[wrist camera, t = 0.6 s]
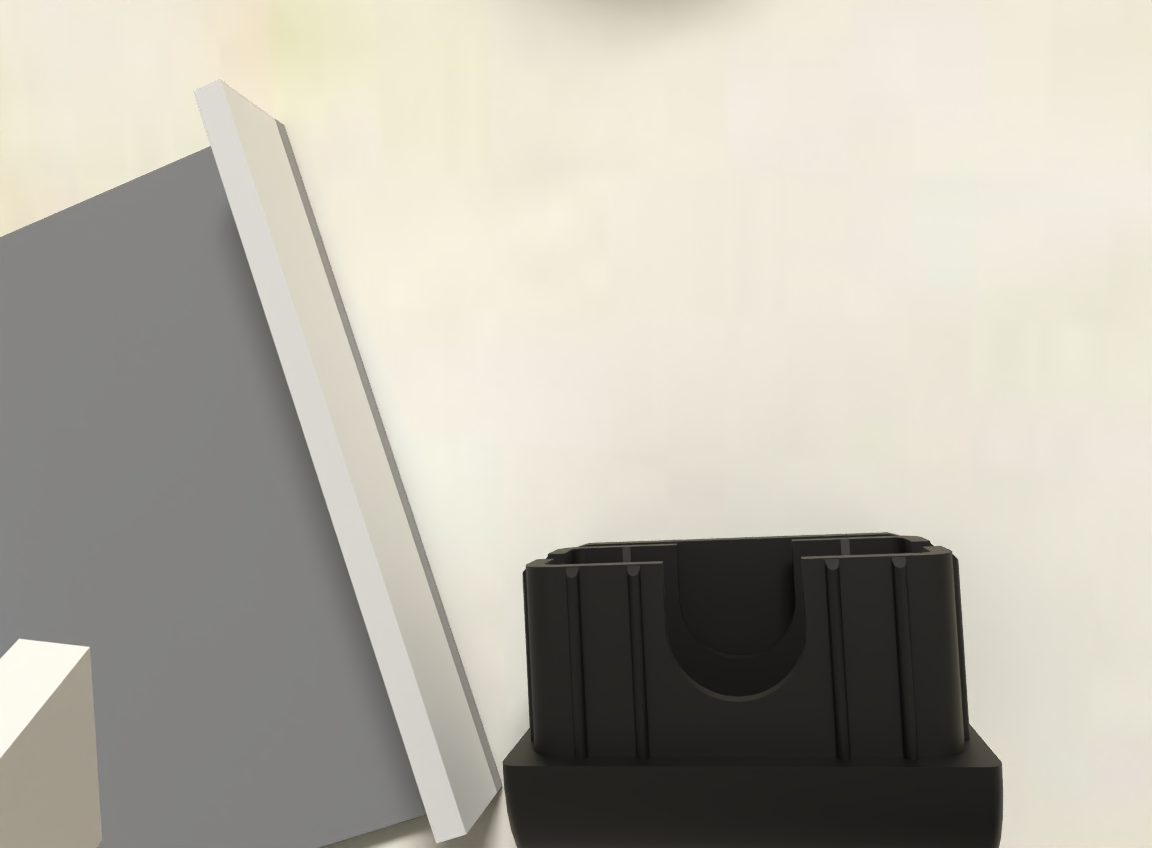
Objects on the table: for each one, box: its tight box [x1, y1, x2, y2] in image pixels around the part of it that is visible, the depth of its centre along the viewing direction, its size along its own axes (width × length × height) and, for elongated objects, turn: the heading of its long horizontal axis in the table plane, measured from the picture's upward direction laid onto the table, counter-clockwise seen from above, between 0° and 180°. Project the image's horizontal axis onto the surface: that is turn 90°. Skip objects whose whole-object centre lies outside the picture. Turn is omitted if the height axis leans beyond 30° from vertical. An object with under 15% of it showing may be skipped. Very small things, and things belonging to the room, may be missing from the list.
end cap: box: [503, 532, 1003, 848], centre depth 23 cm, size 10×7×7 cm
